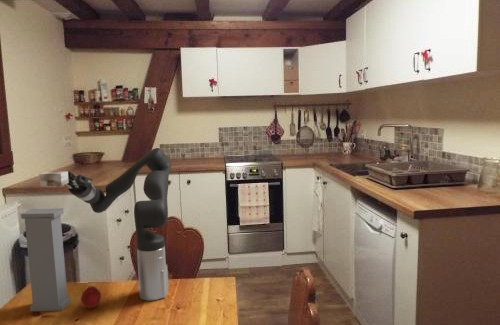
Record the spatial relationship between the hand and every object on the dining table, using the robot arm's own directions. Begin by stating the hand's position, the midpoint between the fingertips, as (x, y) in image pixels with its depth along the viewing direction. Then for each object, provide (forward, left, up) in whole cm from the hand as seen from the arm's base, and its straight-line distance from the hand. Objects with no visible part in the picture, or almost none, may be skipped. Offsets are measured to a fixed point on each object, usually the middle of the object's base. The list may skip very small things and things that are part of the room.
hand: (63, 174), depth 129 cm
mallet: (0, +2, -2) cm, 3 cm away
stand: (0, +15, -41) cm, 44 cm away
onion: (-14, +17, -42) cm, 47 cm away
